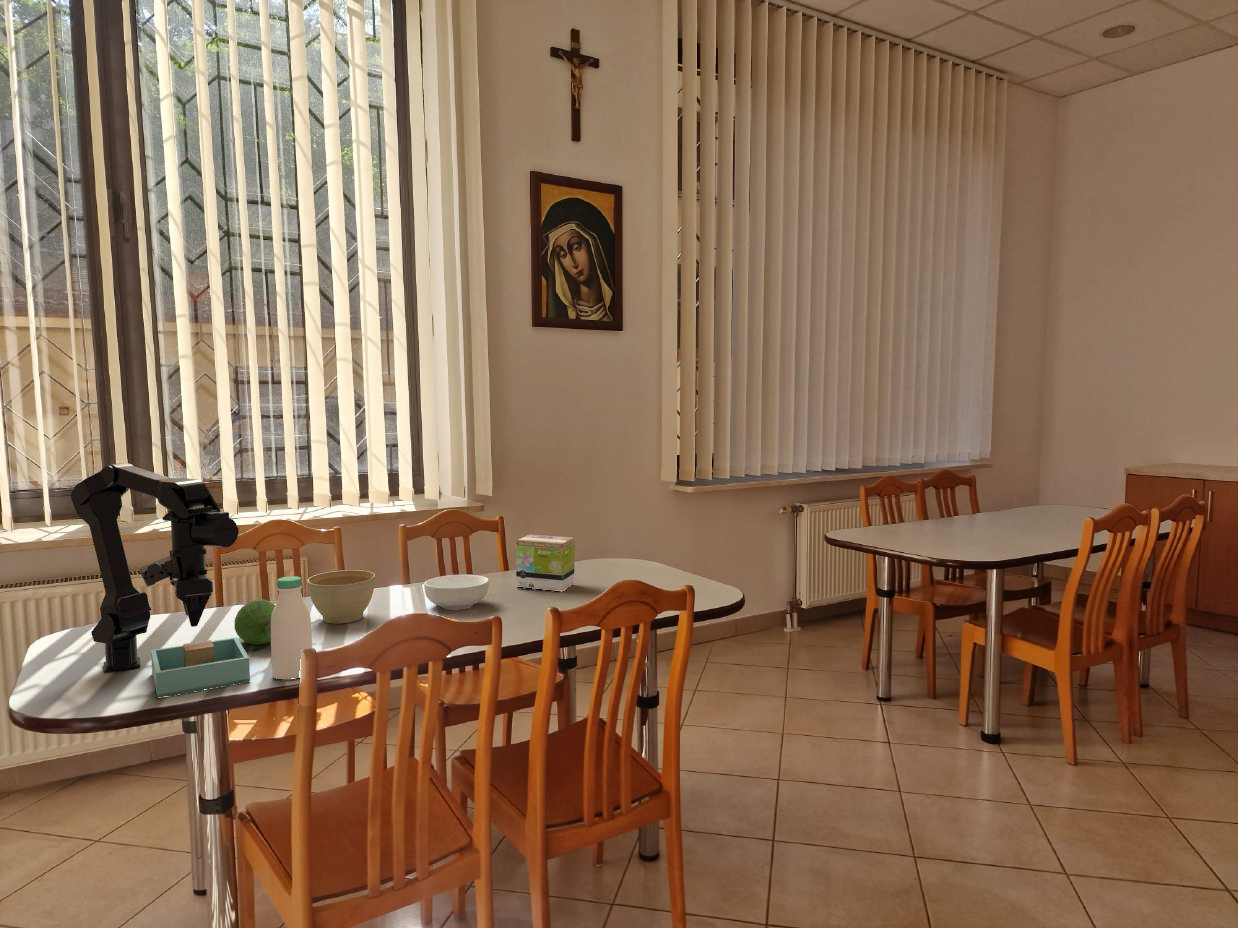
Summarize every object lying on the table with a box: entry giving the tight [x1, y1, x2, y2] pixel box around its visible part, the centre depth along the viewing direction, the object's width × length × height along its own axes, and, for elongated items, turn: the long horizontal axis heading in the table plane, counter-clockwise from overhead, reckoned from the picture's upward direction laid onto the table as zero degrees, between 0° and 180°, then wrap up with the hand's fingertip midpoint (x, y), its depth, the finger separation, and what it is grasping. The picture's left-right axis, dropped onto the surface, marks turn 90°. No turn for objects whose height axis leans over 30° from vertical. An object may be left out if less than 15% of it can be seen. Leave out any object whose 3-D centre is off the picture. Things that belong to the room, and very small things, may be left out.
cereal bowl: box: [423, 574, 490, 611], centre depth 217 cm, size 17×17×7 cm
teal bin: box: [150, 636, 251, 698], centre depth 162 cm, size 16×16×5 cm
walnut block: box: [183, 639, 215, 667], centre depth 162 cm, size 5×5×6 cm
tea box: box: [515, 533, 576, 590], centre depth 237 cm, size 15×10×15 cm
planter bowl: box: [307, 569, 376, 625], centre depth 204 cm, size 16×16×11 cm
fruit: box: [233, 599, 276, 646], centre depth 183 cm, size 15×10×10 cm, turn 35°
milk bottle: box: [270, 575, 313, 680], centre depth 163 cm, size 8×8×20 cm
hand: (191, 620), depth 161 cm, fingers open, 9 cm apart
